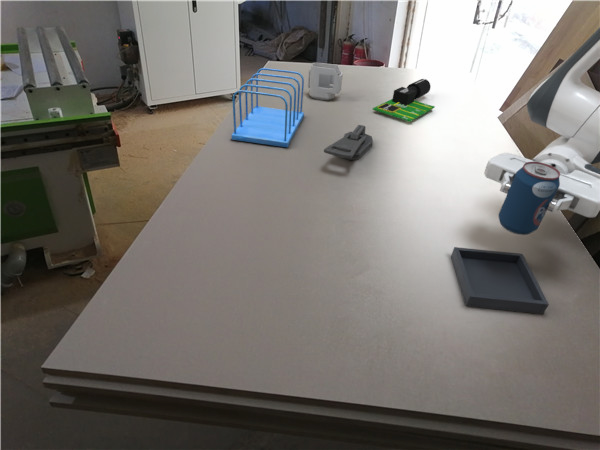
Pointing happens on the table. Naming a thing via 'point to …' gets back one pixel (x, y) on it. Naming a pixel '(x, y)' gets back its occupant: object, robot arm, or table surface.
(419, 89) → the circuit board with cylinder
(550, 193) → the soda can
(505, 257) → the tray
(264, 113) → the file sorter
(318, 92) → the cable organizer
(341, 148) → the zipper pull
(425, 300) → the table surface
